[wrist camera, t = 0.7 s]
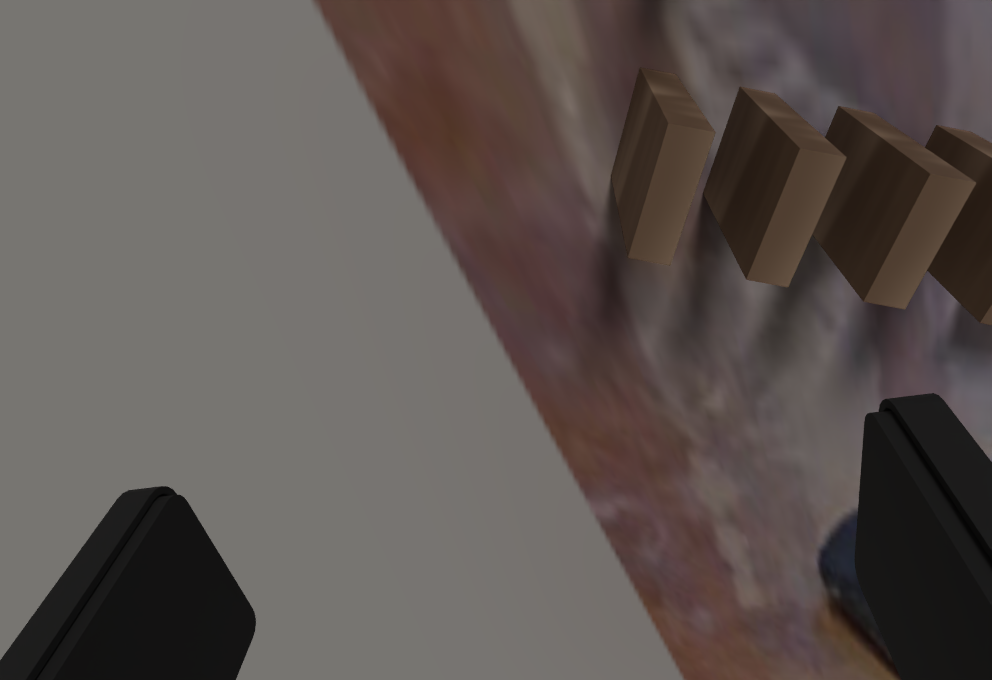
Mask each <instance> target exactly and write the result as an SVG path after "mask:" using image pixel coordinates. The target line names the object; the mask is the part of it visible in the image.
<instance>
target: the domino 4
mask: <svg viewBox="0 0 992 680" xmlns="http://www.w3.org/2000/svg"><path fill="white" fill-rule="evenodd" d="M925 148H926V149H928V150H929V151H931V152H932V153H934V154H935V155H936V156H938V157H939V158H941V159H942V160H944V161H945V162H947V163H948V164H950V165H951V166H953V167H954V168H956V169H957V170H959V171H960V172H962V173H963V174H965V175H966V176H967V177H969V178H970V179H972V180H973V181H975V182H976V185H975V186H974V188H973V190H972V192H971V193H970V195H969V197H968V199H967V200H966V202H965V204H964V206H963V208H962V209H961V211H960V213H959V215H958V216H957V218H956V220H955V222H954V223H953V225H952V227H951V229H950V231H949V232H948V234H947V236H946V238H945V239H944V241H943V243H942V245H941V246H940V248H939V250H938V252H937V254H936V255H935V257H934V259H933V261H932V262H931V264H930V266H929V268H928V269H927V271H928V272H929V273H930V274H931V275H932V276H933V277H934V278H935V279H936V280H937V281H938V282H939V283H940V284H941V285H942V286H943V287H944V288H945V289H946V290H947V291H948V292H949V293H950V294H951V295H952V296H953V297H954V298H955V299H956V300H957V301H958V302H959V303H960V304H961V305H962V306H964V307H965V308H966V309H967V310H968V311H969V312H970V313H971V314H972V315H973V316H974V317H975V318H976V319H977V320H978V321H979V322H980V323H983V324H988V325H992V143H990V142H988V141H987V140H985V139H983V138H981V137H980V136H978V135H976V134H974V133H972V132H969V131H964V130H959V129H954V128H949V127H944V126H939V125H936V127H935V129H934V131H933V133H932V135H931V137H930V139H929V141H928V143H927V145H926V147H925Z"/></svg>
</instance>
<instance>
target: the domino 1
mask: <svg viewBox="0 0 992 680" xmlns="http://www.w3.org/2000/svg"><path fill="white" fill-rule="evenodd" d="M715 133H716V132H715V131H714V129H713V128H712V126H711V125H710V124H709V122H708V121H707V119H706V118H705V116H704V115H703V113H702V112H701V110H700V109H699V108H698V106H697V105H696V103H695V102H694V100H693V99H692V97H691V96H690V94H689V93H688V92H687V90H686V89H685V87H684V86H683V84H682V83H681V81H680V80H679V79H678V77H677V76H676V74H672V73H667V72H661V71H656V70H651V69H646V68H641V67H640V69H639V73H638V77H637V81H636V84H635V88H634V92H633V95H632V99H631V103H630V107H629V110H628V114H627V118H626V122H625V125H624V129H623V133H622V137H621V140H620V144H619V148H618V152H617V155H616V159H615V163H614V166H613V170H612V174H611V178H612V183H613V188H614V193H615V198H616V203H617V207H618V212H619V217H620V222H621V227H622V232H623V236H624V241H625V246H626V251H627V256H628V258H631V259H637V260H642V261H648V262H653V263H658V264H664V265H669V266H670V265H671V262H672V259H673V256H674V253H675V250H676V247H677V244H678V241H679V238H680V235H681V233H682V230H683V227H684V224H685V221H686V218H687V215H688V212H689V209H690V206H691V203H692V200H693V197H694V194H695V191H696V188H697V186H698V183H699V180H700V177H701V174H702V171H703V168H704V165H705V162H706V159H707V156H708V153H709V150H710V147H711V144H712V141H713V138H714V136H715Z"/></svg>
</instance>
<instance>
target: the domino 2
mask: <svg viewBox="0 0 992 680" xmlns="http://www.w3.org/2000/svg"><path fill="white" fill-rule="evenodd" d="M846 158H847V157H846V156H845V155H844V154H843V153H841V152H840V151H839V150H838V149H837V148H836V147H835V146H834V145H832V144H831V143H830V142H829V141H828V140H827V139H826V138H825V137H823V136H822V135H821V134H820V133H819V132H818V131H817V130H816V129H814V128H813V127H812V126H811V125H810V124H809V123H808V122H807V121H805V120H804V119H803V118H802V117H801V116H800V115H799V114H798V113H796V112H795V111H794V110H793V109H792V108H791V107H790V106H789V105H787V104H786V103H785V102H784V101H783V100H782V99H781V98H780V97H778V96H777V95H776V94H775V93H769V92H764V91H759V90H754V89H749V88H744V87H740V88H739V91H738V94H737V97H736V100H735V102H734V105H733V108H732V111H731V114H730V117H729V120H728V123H727V126H726V128H725V131H724V134H723V137H722V140H721V143H720V146H719V149H718V151H717V154H716V157H715V160H714V163H713V166H712V169H711V172H710V175H709V177H708V180H707V183H706V186H705V189H704V192H703V194H704V196H705V198H706V200H707V202H708V204H709V206H710V208H711V210H712V212H713V214H714V216H715V218H716V220H717V222H718V224H719V226H720V228H721V230H722V232H723V234H724V236H725V238H726V240H727V242H728V244H729V246H730V248H731V250H732V252H733V254H734V256H735V258H736V260H737V262H738V264H739V266H740V268H741V270H742V272H743V274H744V276H745V278H746V280H751V281H756V282H762V283H767V284H772V285H778V286H783V287H789V284H790V282H791V280H792V278H793V276H794V273H795V271H796V269H797V267H798V264H799V262H800V260H801V258H802V256H803V253H804V251H805V249H806V247H807V245H808V242H809V240H810V238H811V236H812V233H813V231H814V229H815V227H816V225H817V222H818V220H819V218H820V216H821V213H822V211H823V209H824V207H825V205H826V202H827V200H828V198H829V196H830V193H831V191H832V189H833V187H834V185H835V182H836V180H837V178H838V176H839V174H840V171H841V169H842V167H843V165H844V162H845V160H846Z"/></svg>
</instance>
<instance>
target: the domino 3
mask: <svg viewBox="0 0 992 680" xmlns="http://www.w3.org/2000/svg"><path fill="white" fill-rule="evenodd" d="M825 138H826V139H827V140H828V141H829V142H830V143H831V144H832V145H834V146H835V147H836V148H837V149H838V150H839V151H840V152H841V153H843V154H844V155H845V156H846V157H847V158H846V160H845V162H844V165H843V167H842V169H841V171H840V174H839V176H838V178H837V180H836V182H835V185H834V187H833V189H832V191H831V193H830V196H829V198H828V200H827V202H826V205H825V207H824V209H823V211H822V213H821V216H820V218H819V220H818V222H817V225H816V227H815V229H814V231H813V233H812V235H813V236H814V238H815V239H816V240H817V241H818V243H819V244H820V245H821V247H822V248H823V249H824V251H825V252H826V253H827V255H828V256H829V257H830V258H831V260H832V261H833V262H834V264H835V265H836V266H837V268H838V269H839V270H840V272H841V273H842V274H843V276H844V277H845V278H846V279H847V281H848V282H849V283H850V285H851V286H852V287H853V289H854V290H855V291H856V293H857V294H858V295H859V296H860V298H861V299H862V300H863V302H868V303H873V304H878V305H884V306H889V307H895V308H900V309H905V308H906V307H907V305H908V303H909V301H910V300H911V298H912V296H913V294H914V292H915V291H916V289H917V287H918V285H919V284H920V282H921V280H922V278H923V277H924V275H925V273H926V271H927V269H928V268H929V266H930V264H931V262H932V261H933V259H934V257H935V255H936V254H937V252H938V250H939V248H940V246H941V245H942V243H943V241H944V239H945V238H946V236H947V234H948V232H949V231H950V229H951V227H952V225H953V223H954V222H955V220H956V218H957V216H958V215H959V213H960V211H961V209H962V208H963V206H964V204H965V202H966V200H967V199H968V197H969V195H970V193H971V192H972V190H973V188H974V186H975V185H976V182H975V181H973V180H972V179H970V178H969V177H967V176H966V175H965V174H963V173H962V172H960V171H959V170H957V169H956V168H954V167H953V166H951V165H950V164H948V163H947V162H945V161H944V160H942V159H941V158H939V157H938V156H936V155H935V154H934V153H932V152H931V151H929V150H928V149H926V148H925V147H923V146H922V145H920V144H919V143H917V142H916V141H914V140H913V139H911V138H910V137H908V136H907V135H905V134H904V133H902V132H901V131H900V130H898V129H897V128H895V127H894V126H892V125H891V124H889V123H888V122H886V121H885V120H883V119H882V118H880V117H879V116H877V115H876V114H874V113H871V112H866V111H861V110H856V109H851V108H846V107H841V106H838V109H837V111H836V113H835V116H834V118H833V121H832V123H831V125H830V128H829V130H828V132H827V135H826V137H825Z"/></svg>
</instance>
